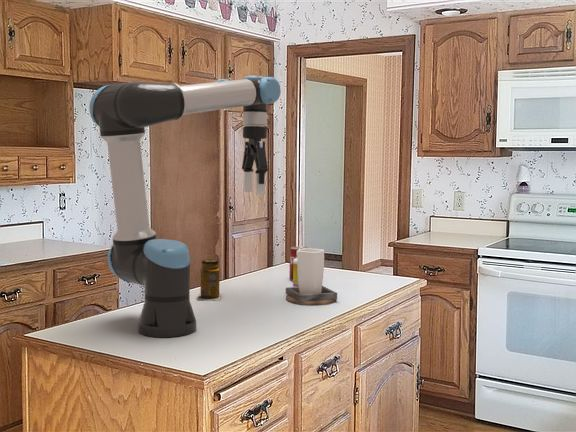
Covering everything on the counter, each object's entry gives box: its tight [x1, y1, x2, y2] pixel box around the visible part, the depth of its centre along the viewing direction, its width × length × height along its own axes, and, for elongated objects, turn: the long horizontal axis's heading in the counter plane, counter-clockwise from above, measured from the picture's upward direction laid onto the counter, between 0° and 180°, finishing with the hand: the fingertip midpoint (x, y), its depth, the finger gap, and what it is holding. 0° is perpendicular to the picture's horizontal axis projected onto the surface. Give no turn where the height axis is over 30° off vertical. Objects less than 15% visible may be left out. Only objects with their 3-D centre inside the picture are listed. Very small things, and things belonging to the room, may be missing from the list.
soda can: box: [288, 245, 309, 282], centre depth 247 cm, size 7×7×12 cm
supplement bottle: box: [292, 251, 299, 287], centre depth 233 cm, size 7×7×13 cm
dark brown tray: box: [285, 285, 338, 306], centre depth 217 cm, size 16×16×3 cm
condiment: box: [196, 258, 222, 301], centre depth 218 cm, size 7×8×12 cm
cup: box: [297, 247, 325, 295], centre depth 216 cm, size 7×7×15 cm
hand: (254, 193), depth 216 cm, fingers open, 13 cm apart
